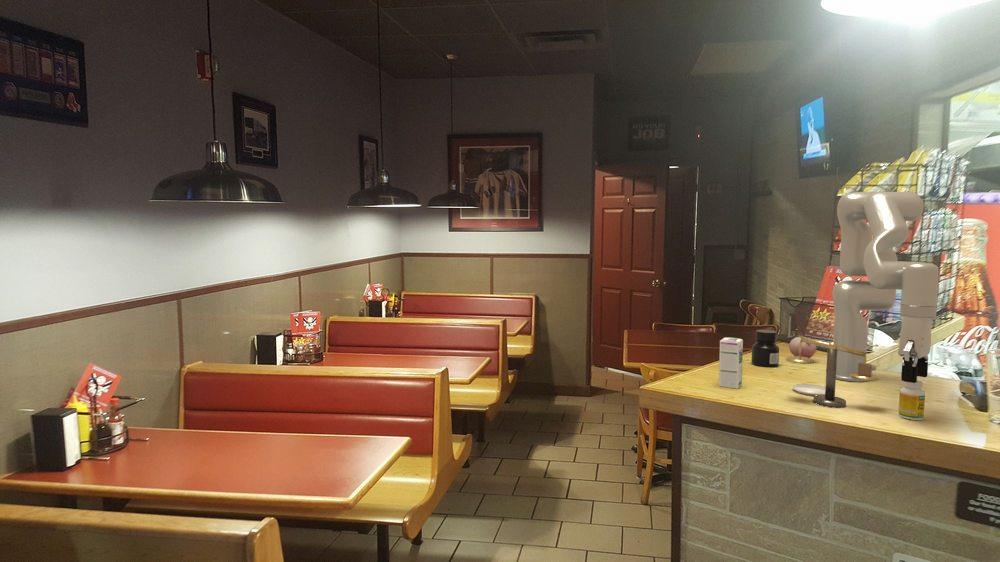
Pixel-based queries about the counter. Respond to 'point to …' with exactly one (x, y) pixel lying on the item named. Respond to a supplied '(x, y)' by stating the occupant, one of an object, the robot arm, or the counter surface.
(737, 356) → the syrup box
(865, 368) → the balance
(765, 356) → the ink bottle
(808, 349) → the decorative fruit
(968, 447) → the counter surface
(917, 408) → the supplement bottle
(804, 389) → the dish
